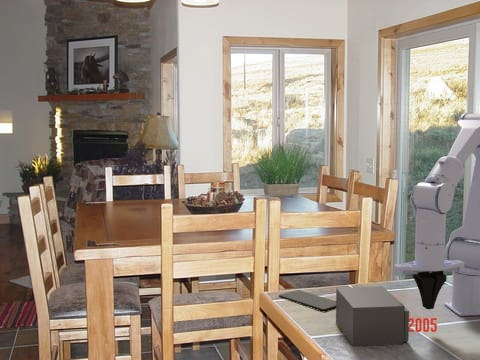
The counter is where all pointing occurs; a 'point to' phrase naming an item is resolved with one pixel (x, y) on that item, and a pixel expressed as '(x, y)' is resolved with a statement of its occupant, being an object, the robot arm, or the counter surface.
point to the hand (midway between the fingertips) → (428, 307)
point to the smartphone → (310, 300)
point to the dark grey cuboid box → (370, 316)
